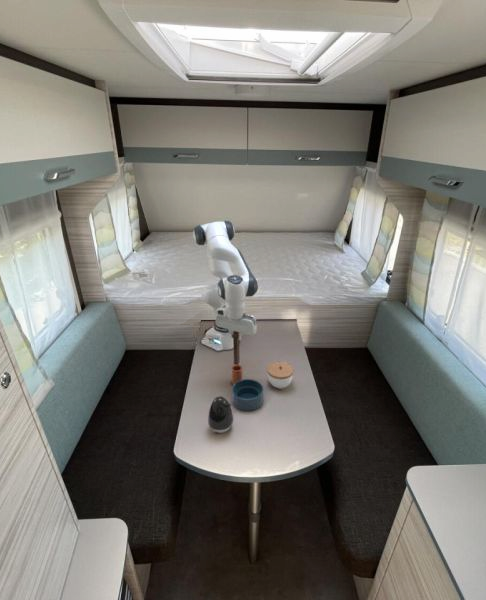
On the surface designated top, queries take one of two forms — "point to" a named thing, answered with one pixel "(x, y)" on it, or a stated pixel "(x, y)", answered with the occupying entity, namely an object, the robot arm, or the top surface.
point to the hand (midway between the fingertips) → (236, 338)
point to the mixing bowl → (247, 394)
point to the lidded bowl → (280, 374)
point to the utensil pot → (237, 373)
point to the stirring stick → (236, 348)
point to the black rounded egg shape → (220, 415)
